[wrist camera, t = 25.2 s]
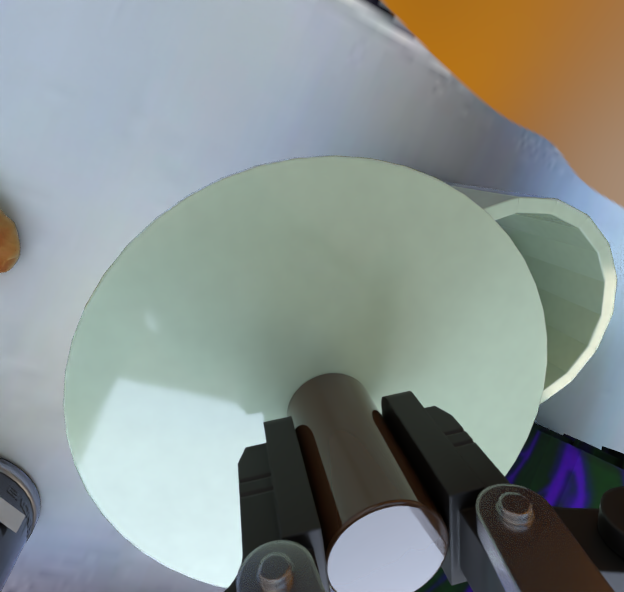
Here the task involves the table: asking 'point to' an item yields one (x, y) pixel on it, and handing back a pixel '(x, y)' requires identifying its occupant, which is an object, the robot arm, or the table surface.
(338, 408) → the pot lid
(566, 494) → the decorative plant
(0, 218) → the pastry
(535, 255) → the pot
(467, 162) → the table surface
